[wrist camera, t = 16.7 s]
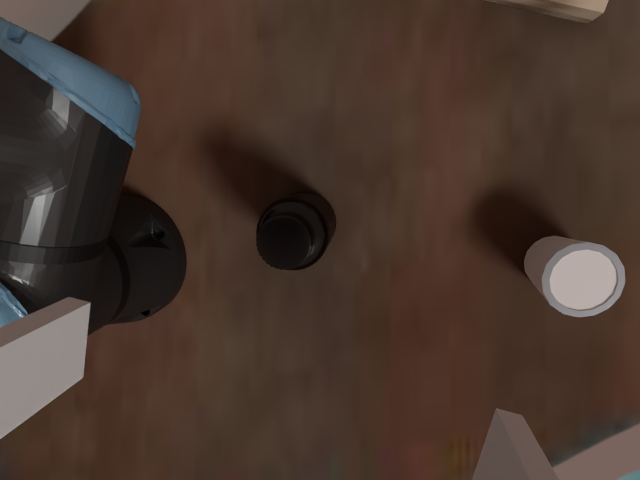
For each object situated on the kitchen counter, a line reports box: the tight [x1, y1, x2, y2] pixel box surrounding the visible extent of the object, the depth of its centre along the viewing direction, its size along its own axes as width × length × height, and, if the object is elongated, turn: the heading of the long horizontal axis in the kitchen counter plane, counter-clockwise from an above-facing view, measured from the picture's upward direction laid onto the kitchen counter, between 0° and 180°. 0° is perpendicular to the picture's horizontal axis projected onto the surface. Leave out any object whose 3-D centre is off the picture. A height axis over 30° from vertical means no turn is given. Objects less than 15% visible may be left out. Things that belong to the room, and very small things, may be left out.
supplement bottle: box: [256, 191, 336, 270], centre depth 41 cm, size 7×7×12 cm
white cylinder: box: [524, 236, 625, 317], centre depth 41 cm, size 7×7×7 cm
